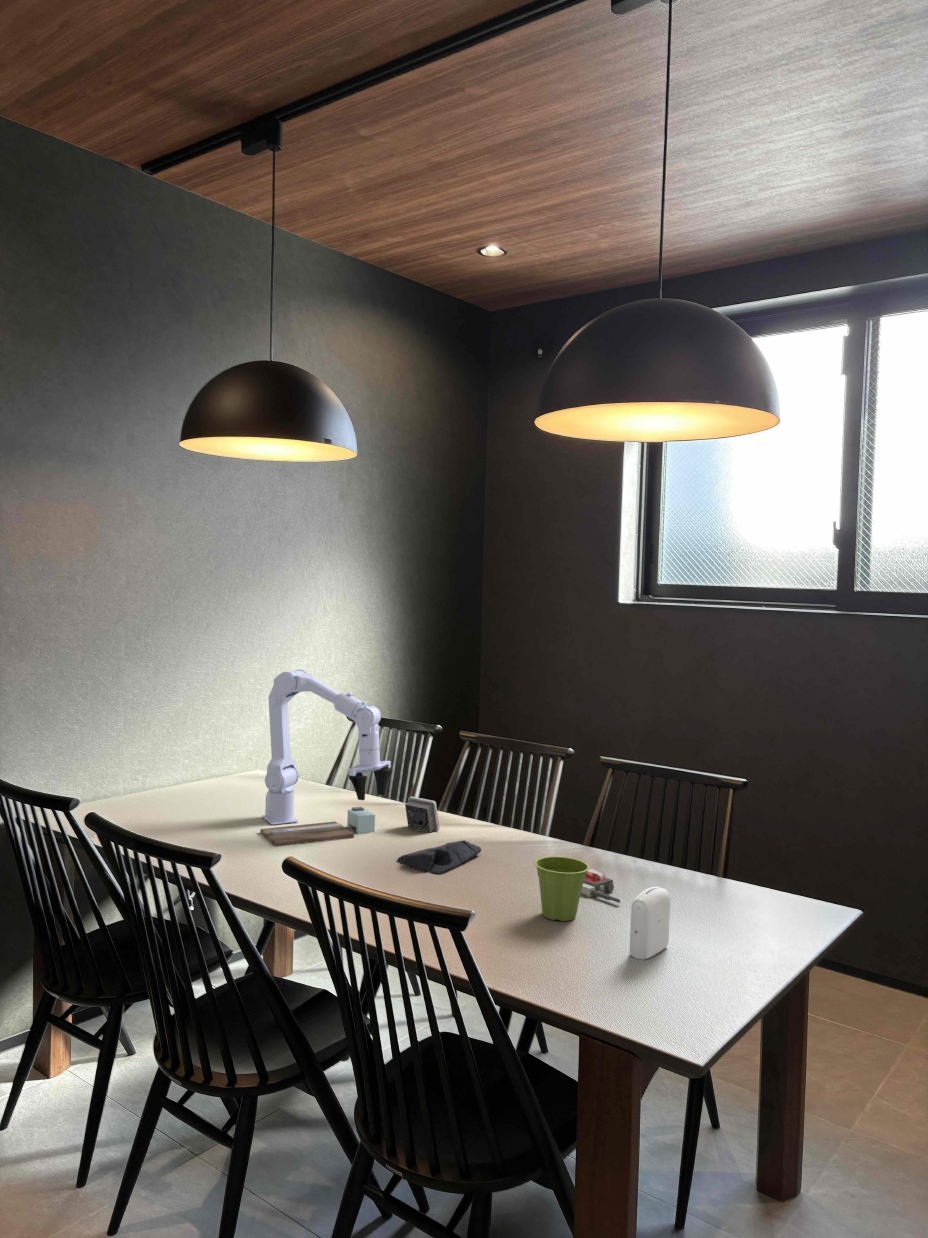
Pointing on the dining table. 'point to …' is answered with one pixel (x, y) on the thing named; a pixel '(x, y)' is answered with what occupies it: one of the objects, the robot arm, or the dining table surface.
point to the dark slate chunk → (440, 857)
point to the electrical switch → (422, 814)
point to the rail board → (306, 833)
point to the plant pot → (560, 885)
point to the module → (361, 820)
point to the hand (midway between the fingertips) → (371, 797)
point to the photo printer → (649, 923)
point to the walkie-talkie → (598, 885)
